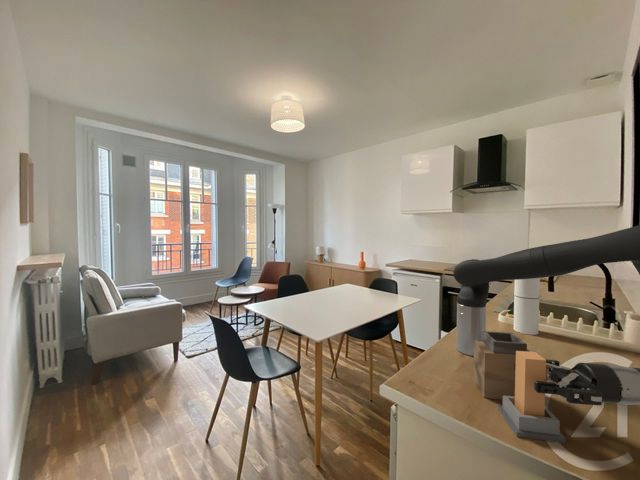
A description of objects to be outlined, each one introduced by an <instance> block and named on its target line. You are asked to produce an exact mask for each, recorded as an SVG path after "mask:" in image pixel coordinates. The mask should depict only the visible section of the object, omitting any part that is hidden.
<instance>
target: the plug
mask: <svg viewBox="0 0 640 480" xmlns="http://www.w3.org/2000/svg"><path fill="white" fill-rule="evenodd" d="M545 359H546V358H544V357H543V356H541V355H540V354H539V353H537V352H536V351H530V352H527V351H516V367H515V407H516V408H517V410H518V411H519V412H520V413H521V415H529V416H538V417H545V406H546V394H545V393H538V392H536V391H535V389H534V382H535V381H544V382H547V381H546V380H547V379H546V360H545Z"/></svg>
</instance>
